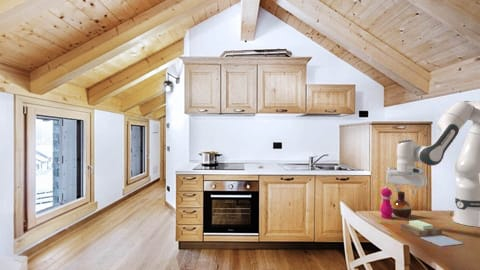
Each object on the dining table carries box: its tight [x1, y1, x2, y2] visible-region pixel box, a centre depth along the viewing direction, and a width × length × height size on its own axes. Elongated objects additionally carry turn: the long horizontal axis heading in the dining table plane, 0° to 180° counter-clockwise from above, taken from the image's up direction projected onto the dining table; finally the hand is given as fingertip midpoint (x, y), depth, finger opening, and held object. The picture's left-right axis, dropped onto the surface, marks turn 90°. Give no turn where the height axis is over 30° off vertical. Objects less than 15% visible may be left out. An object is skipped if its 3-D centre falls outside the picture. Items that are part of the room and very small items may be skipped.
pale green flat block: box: [408, 219, 434, 230], centre depth 146 cm, size 6×9×2 cm, turn 12°
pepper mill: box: [379, 185, 393, 220], centre depth 173 cm, size 7×7×20 cm
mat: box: [419, 234, 465, 247], centre depth 134 cm, size 13×12×1 cm
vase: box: [391, 190, 412, 218], centre depth 176 cm, size 11×11×15 cm
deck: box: [400, 223, 443, 238], centre depth 146 cm, size 14×12×3 cm
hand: (405, 192), depth 155 cm, fingers open, 7 cm apart
